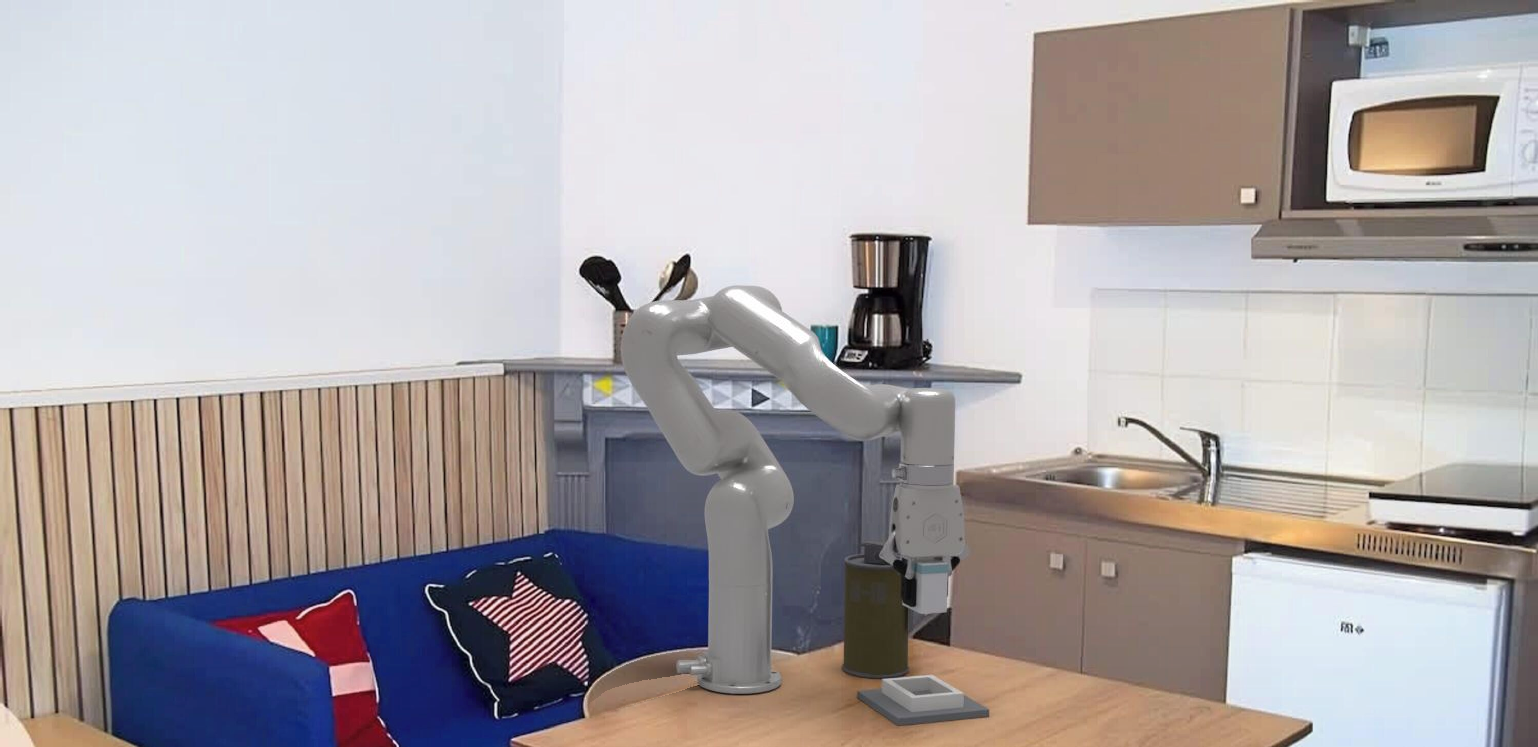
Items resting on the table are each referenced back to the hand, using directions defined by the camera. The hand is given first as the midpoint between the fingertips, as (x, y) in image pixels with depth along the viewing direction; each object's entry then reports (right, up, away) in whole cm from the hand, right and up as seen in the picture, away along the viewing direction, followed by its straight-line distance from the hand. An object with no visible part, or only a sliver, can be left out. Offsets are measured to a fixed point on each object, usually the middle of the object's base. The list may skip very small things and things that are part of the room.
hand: (924, 602), depth 201 cm
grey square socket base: (0, -15, +1) cm, 15 cm away
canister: (-5, -14, +20) cm, 25 cm away
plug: (0, -1, 0) cm, 1 cm away
